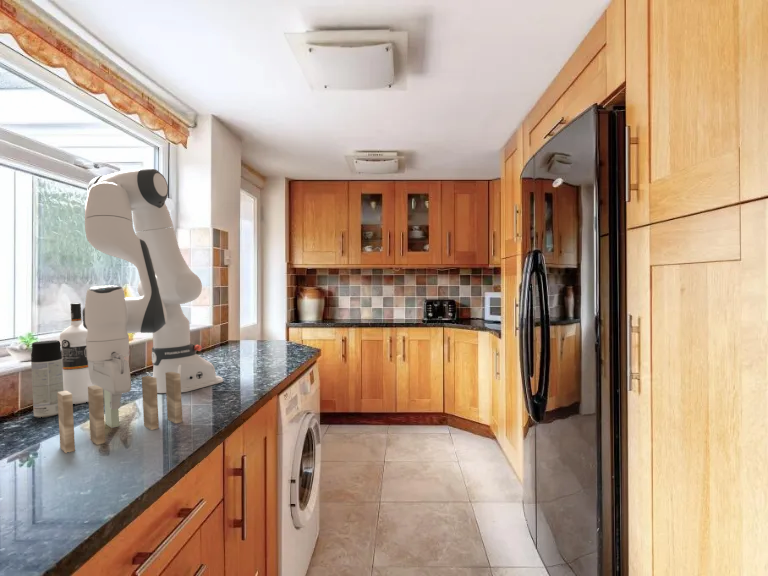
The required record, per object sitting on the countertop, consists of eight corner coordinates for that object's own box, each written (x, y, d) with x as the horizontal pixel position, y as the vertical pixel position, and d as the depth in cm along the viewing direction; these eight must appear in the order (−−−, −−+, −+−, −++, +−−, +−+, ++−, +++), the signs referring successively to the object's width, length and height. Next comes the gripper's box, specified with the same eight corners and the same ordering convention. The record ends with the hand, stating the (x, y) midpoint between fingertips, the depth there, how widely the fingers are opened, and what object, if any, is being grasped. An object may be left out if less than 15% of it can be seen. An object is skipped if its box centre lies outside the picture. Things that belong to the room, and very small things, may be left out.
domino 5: (174, 418, 108) (172, 371, 108) (182, 421, 105) (180, 373, 104) (167, 419, 107) (165, 372, 106) (175, 423, 103) (173, 375, 103)
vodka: (105, 397, 131) (100, 301, 130) (74, 406, 122) (69, 303, 122) (85, 395, 134) (81, 302, 134) (54, 404, 126) (48, 304, 125)
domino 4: (151, 424, 104) (148, 375, 104) (158, 428, 100) (156, 378, 100) (144, 425, 103) (141, 376, 102) (151, 430, 99) (149, 379, 99)
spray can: (62, 408, 120) (59, 339, 120) (66, 413, 115) (62, 341, 115) (32, 414, 116) (28, 342, 115) (35, 419, 111) (31, 344, 110)
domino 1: (69, 445, 92) (66, 390, 91) (75, 450, 88) (72, 393, 88) (60, 447, 90) (57, 392, 90) (65, 453, 87) (62, 395, 87)
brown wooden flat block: (98, 437, 96) (96, 385, 95) (105, 442, 92) (102, 388, 92) (90, 439, 94) (87, 386, 94) (96, 444, 91) (94, 389, 91)
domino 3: (112, 422, 106) (110, 375, 106) (119, 426, 103) (116, 377, 103) (105, 423, 105) (103, 376, 105) (111, 428, 102) (109, 378, 102)
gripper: (137, 352, 99) (140, 410, 99) (110, 345, 113) (113, 397, 113) (106, 356, 94) (109, 417, 95) (82, 349, 108) (85, 402, 108)
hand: (111, 406), depth 104 cm, fingers closed on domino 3, 5 cm apart
